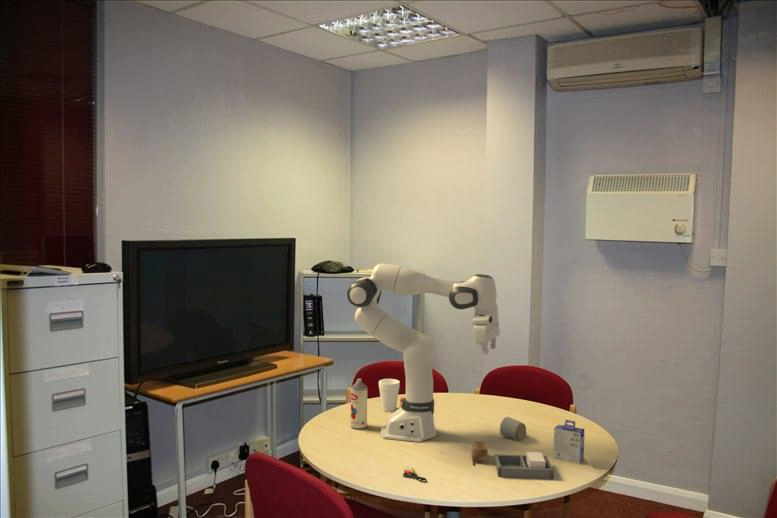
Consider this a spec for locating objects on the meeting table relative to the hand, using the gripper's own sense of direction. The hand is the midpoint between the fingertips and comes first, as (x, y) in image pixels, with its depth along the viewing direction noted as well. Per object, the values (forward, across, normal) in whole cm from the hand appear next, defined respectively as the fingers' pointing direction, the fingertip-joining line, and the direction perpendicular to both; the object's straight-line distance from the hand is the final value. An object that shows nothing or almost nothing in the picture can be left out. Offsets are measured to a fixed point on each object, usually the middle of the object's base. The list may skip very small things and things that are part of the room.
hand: (489, 351), depth 234 cm
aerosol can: (+30, +10, -56) cm, 64 cm away
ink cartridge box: (+38, +7, +28) cm, 48 cm away
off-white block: (+36, +23, +20) cm, 47 cm away
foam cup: (+31, -16, -55) cm, 65 cm away
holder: (+36, +25, +16) cm, 47 cm away
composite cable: (+33, +45, -15) cm, 58 cm away
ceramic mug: (+37, -8, +4) cm, 38 cm away
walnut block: (+35, +22, 0) cm, 41 cm away
